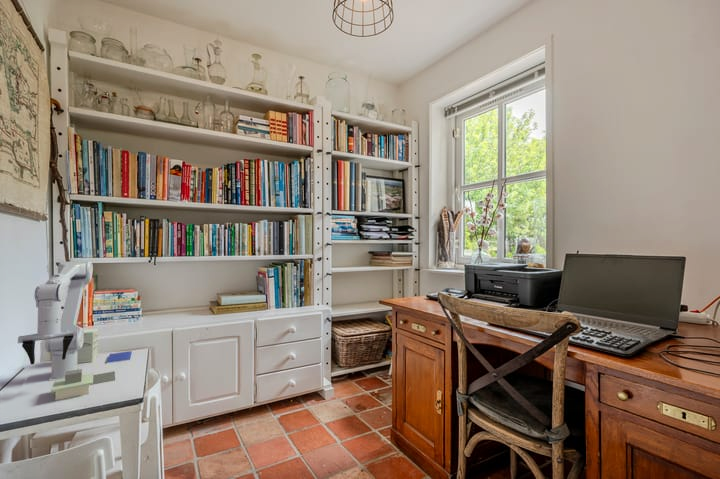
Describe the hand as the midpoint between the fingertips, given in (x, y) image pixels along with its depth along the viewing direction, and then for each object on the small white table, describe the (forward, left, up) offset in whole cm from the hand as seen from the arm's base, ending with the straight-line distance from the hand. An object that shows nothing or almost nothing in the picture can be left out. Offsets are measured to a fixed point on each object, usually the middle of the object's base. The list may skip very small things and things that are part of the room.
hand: (48, 361), depth 111 cm
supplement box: (-32, +8, -10) cm, 34 cm away
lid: (+8, +7, -6) cm, 12 cm away
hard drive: (-26, +20, -11) cm, 35 cm away
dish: (+8, +7, -10) cm, 15 cm away
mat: (-2, +13, -10) cm, 16 cm away
